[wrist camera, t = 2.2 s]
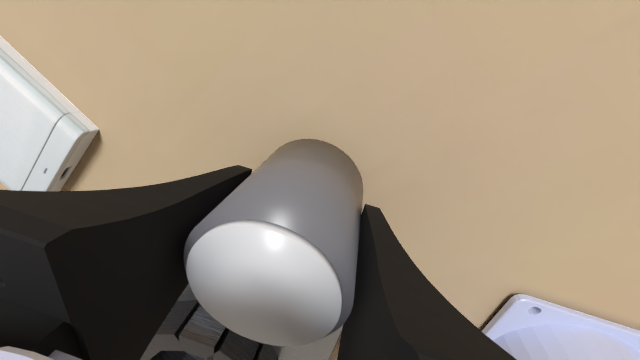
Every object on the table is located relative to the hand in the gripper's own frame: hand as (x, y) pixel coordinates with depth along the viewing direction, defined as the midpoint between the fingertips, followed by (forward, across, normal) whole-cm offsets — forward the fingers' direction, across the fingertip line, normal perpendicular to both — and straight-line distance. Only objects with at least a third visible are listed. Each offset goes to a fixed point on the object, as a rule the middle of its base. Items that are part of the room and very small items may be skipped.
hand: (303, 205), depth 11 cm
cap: (+2, 0, 0) cm, 2 cm away
